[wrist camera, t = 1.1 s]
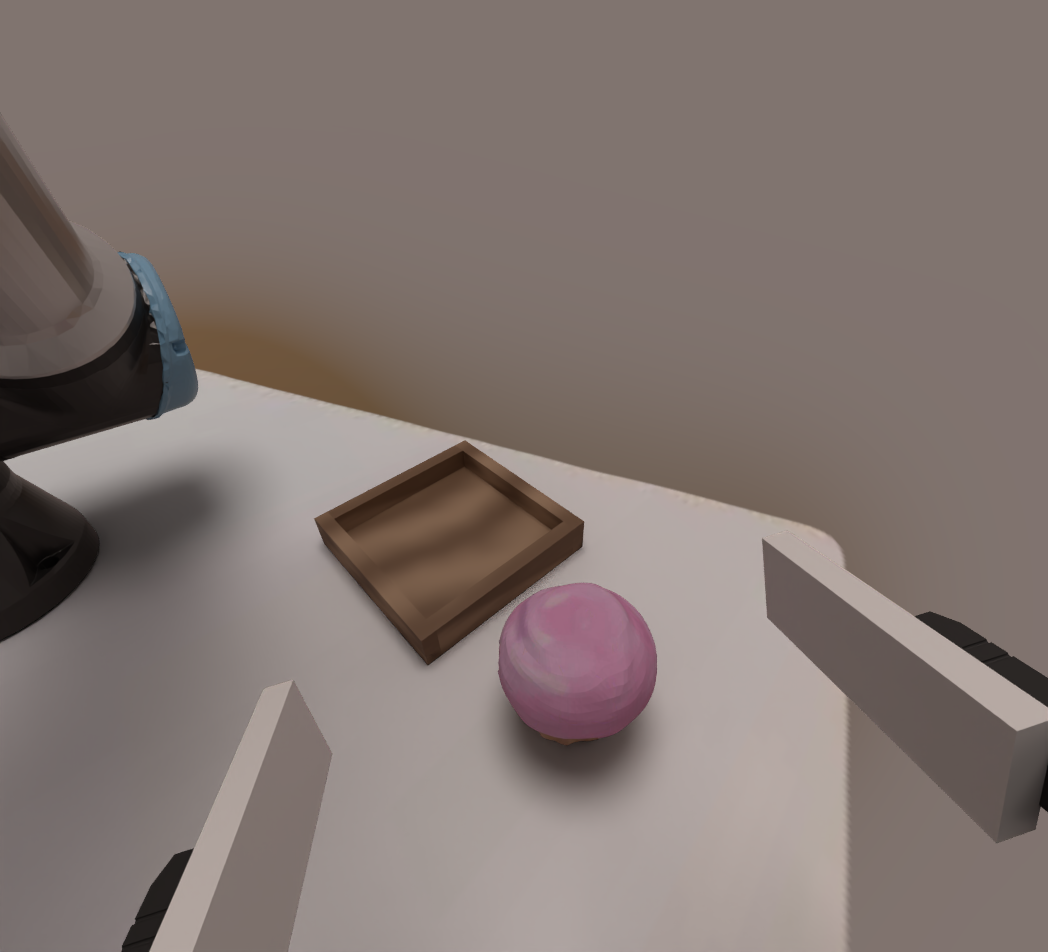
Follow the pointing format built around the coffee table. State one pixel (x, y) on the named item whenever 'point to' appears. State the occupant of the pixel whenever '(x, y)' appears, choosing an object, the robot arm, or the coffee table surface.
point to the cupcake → (577, 662)
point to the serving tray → (449, 544)
